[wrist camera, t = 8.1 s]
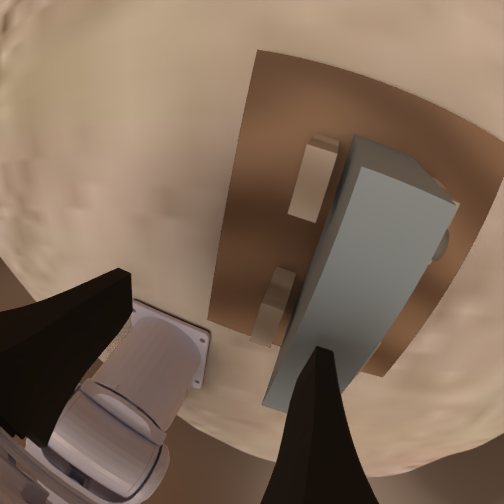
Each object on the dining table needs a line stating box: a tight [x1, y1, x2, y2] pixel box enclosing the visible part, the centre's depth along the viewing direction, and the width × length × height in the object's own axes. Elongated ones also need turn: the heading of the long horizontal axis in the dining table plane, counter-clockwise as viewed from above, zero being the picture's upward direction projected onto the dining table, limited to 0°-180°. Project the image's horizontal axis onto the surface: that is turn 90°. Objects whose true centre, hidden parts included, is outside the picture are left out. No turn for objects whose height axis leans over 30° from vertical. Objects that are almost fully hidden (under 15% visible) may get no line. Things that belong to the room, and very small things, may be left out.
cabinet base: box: [207, 50, 504, 377], centre depth 15 cm, size 18×14×5 cm
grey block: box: [262, 134, 457, 413], centre depth 13 cm, size 12×4×7 cm, turn 168°
